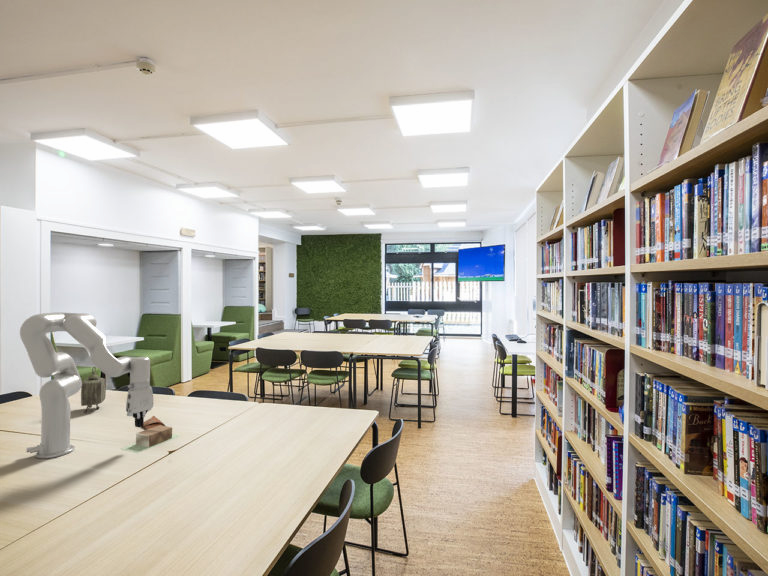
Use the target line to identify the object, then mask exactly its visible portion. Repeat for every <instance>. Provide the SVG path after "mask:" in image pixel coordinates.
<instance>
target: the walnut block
mask: <svg viewBox="0 0 768 576" xmlns="http://www.w3.org/2000/svg"><path fill="white" fill-rule="evenodd" d="M172 434H173V427H171V426H166V425H165V426H162V425H159V426H156V427H153V428H150V429H147V430H145V429H144V430H141V431H139V432H136V433H135V443H136V445H141V446H145V447H150V446H153V445H155V444H158V443H161V442H163V441H166V440H168V439H171V438H172Z"/></svg>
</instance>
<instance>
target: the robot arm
mask: <svg viewBox="0 0 768 576" xmlns="http://www.w3.org/2000/svg"><path fill="white" fill-rule="evenodd" d="M96 326H97V320H96V318H95V316H93V315H92V314H89V313H83V312H82V313H79V312H78V313H77V312H45V313H37V314H34V315H31V316H30V317H28V318H27V319H25V320H24V321H23V323H22V324H21V325H20V329H19V335H20V340H21V342H22V343H23V345H24V348H25V350H26V352H27V355H28V358H29V360H30V362H31V365H32V368H33V370H34V373H35V374H36V375H37V376H38V377H40V378H43V379H45V378H51V377H53V379H51V380H48V381H47V382H45V383H44V384H43V385H42V386H41V387H40V390H39V400H40V406H41V426H40V427H41V429H40V430H41V431H40V432H41V434H40V443H39V444H38V445H36V446H30V447H28V446H27V447H26V453H29V454H33V453H35V457H36V458H37V459H53V458H57V457H61V456H62V457H63V456H65V455H68V454H70V453H72V452H73V451H74V450H75V446H74V445H73V444H71V414H72V413H71V404H70V401H69V397H71V396H73V395H76V394H77V393H78V392H79V391H81V387H82V382H83V381H82V378H81V376H80V375H81V374H80V372H79V371H78V368H77V366H76V362H75V361H74V358H73V357H72V356H71V355H70V354H69V353H67V352H62V351H60V352H59V351H57V352H56V350H55V348H54V344H53V342H52V341H51V339H49V338H48V336H47V335H46V334H49V333H55V332H66V333H67V334H68V335H70V336H71V337H72V338H73V339H74V340H75V341H76V342H78V344H79V345H80V346H82V347H83V348H84V349H85V350H86V351H87V353H88V357H89V358H90V360H91V362H92V363H93V364H94V367H96V368H98V370H100V372H102V373H103V374H105V375H106V376H108V377H111V378H117V377H121V376H123V375H125V374H130V375H129V377H130V378H129V384H128V385H127V388H128V391H127V395H126V396H127V397H126V403H125V411H126V417H132V418H133V419H134V427H135V428H142V427H143V423H144V422H145V421H144V420H145V417H146V414H147V413H148V412H150V411H151V410H152V409H153V408H154V393H153V388H152V386H151V384H150V383H151V358H149V357H148V356H138V357H136V356H135V357H133V356H124V355H123V356H120V357H117V358H116V357H115V356H114V355H113V354H112V353H111V352H110V351H109V349H108V348H107V346H106V341H107V337H106V335H105V334H104V333H103V332H101V331H100V330H99V329H98V328H97V327H96Z"/></svg>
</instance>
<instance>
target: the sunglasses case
mask: <svg viewBox="0 0 768 576" xmlns="http://www.w3.org/2000/svg"><path fill="white" fill-rule="evenodd" d="M159 425H162V426H166V425H165V424H164V423H163V422H162V421H161V420H160V419H159V418H157V417H156V416H155V415H152V416H151V417H150V418H149V419H147V420H145V421H144V423H143V427H141V428H142V429H144V430H147V429H150V428H153V427H156V426H159Z"/></svg>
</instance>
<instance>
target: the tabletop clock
mask: <svg viewBox="0 0 768 576" xmlns="http://www.w3.org/2000/svg"><path fill="white" fill-rule="evenodd" d="M96 369H97V367H96V366H93V367H92V369H91V374H90V375H89V376H88V378H85V379H83V381H82V386H81V389H80V405H81V406H82V407H86V408H85V409H84V410H83V413H88V410H89V408H92V407H93V406H96V410H99V409H100V406H99V405H100V404H102V403H103V402H104V401H105V400H106V396H107V395H106V392H107V391H106V390H107V381H106V380H107V379H105V378H103V377H99V376H100V375H98V374H96Z"/></svg>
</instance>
